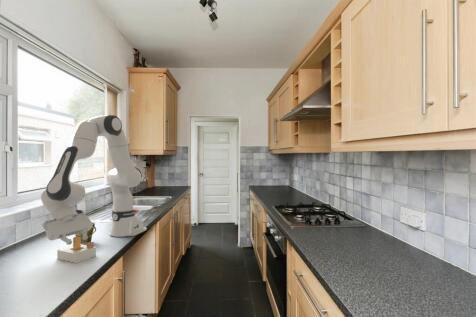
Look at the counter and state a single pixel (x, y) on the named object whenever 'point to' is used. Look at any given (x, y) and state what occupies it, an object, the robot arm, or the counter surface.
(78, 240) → the pin
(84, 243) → the ceramic cup
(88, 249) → the housing
